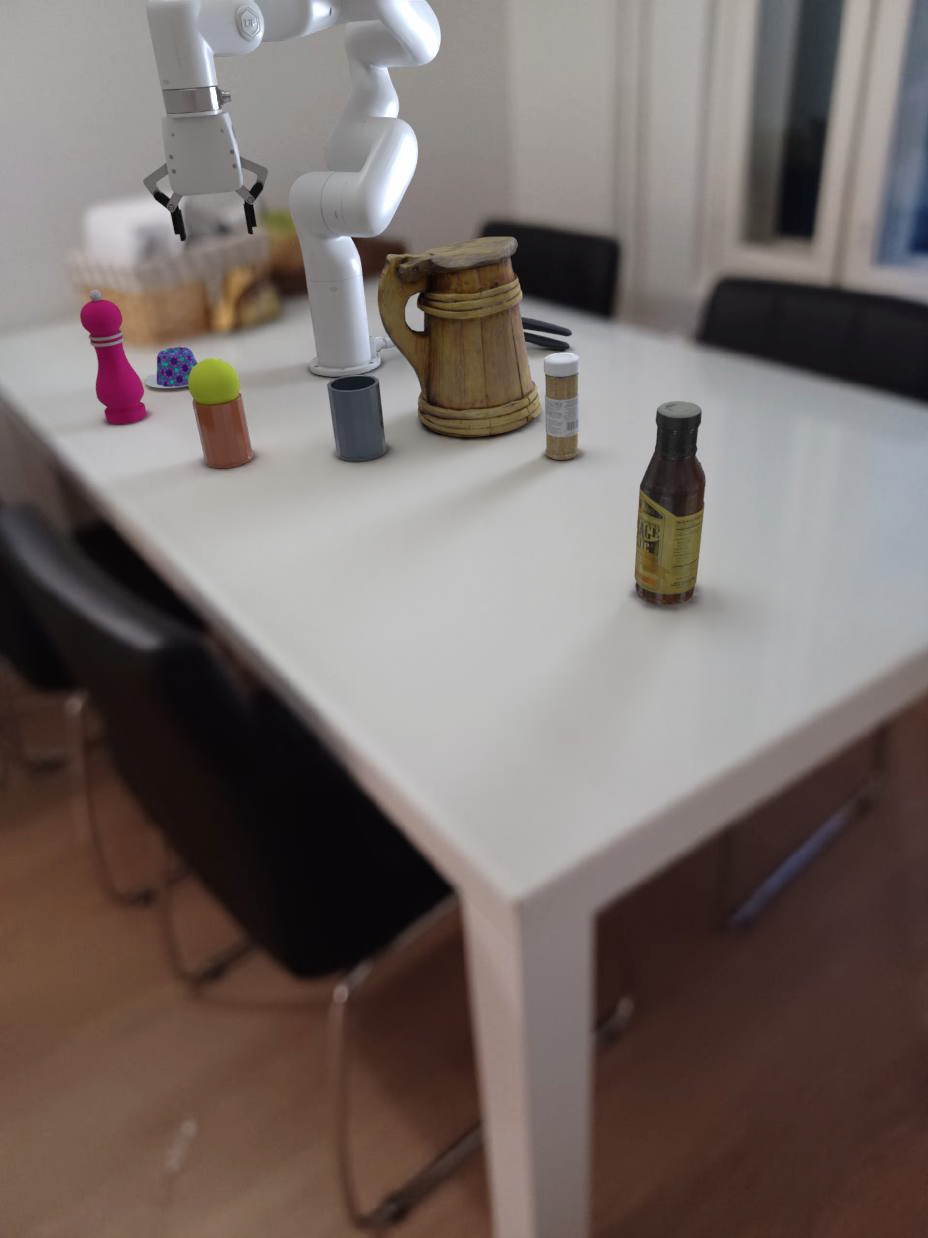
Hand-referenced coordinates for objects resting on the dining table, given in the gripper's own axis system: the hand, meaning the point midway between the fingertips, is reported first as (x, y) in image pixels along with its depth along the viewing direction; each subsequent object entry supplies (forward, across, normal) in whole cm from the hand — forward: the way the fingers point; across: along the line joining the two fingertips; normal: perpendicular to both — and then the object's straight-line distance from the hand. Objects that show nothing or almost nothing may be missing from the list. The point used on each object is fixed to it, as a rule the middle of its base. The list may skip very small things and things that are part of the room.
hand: (217, 236), depth 139 cm
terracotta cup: (+26, +3, +20) cm, 33 cm away
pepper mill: (+26, +19, -4) cm, 33 cm away
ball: (+15, +3, +20) cm, 26 cm away
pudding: (+26, +12, -20) cm, 35 cm away
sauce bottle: (+26, -41, +74) cm, 88 cm away
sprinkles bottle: (+26, -41, +35) cm, 60 cm away
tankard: (+26, -32, +17) cm, 45 cm away
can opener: (+26, -50, -16) cm, 59 cm away
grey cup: (+26, -15, +24) cm, 39 cm away
